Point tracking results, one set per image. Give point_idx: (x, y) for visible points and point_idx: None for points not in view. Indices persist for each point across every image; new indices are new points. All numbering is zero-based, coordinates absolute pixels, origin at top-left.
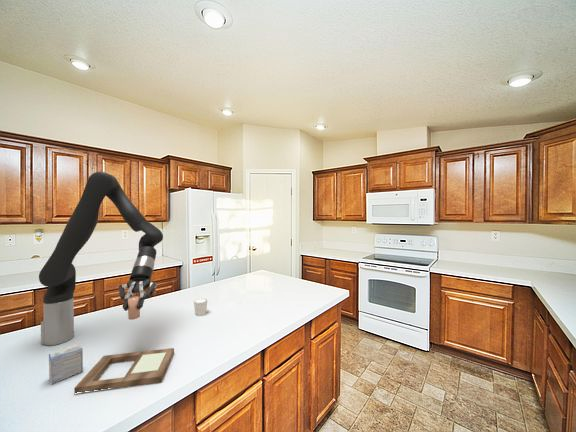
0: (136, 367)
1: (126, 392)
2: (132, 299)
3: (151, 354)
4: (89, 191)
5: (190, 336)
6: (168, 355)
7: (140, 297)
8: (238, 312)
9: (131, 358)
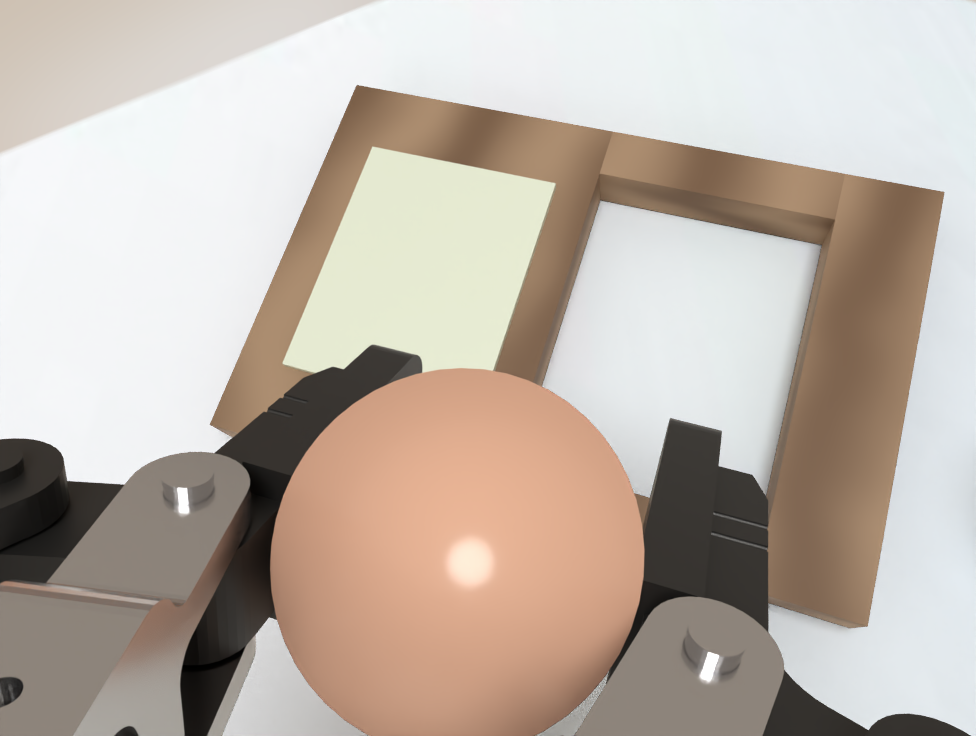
0: (519, 241)
1: (574, 105)
2: (487, 408)
3: None
4: None
5: None
6: (274, 319)
7: (249, 491)
8: None
9: None
